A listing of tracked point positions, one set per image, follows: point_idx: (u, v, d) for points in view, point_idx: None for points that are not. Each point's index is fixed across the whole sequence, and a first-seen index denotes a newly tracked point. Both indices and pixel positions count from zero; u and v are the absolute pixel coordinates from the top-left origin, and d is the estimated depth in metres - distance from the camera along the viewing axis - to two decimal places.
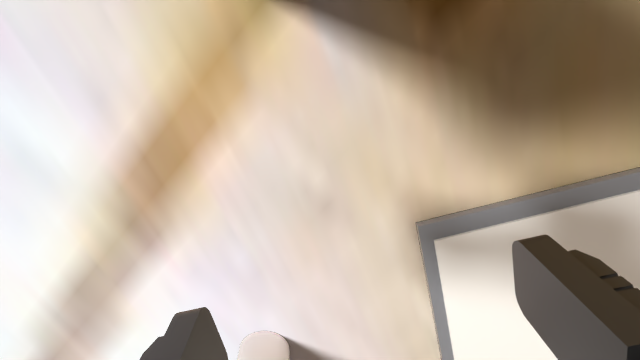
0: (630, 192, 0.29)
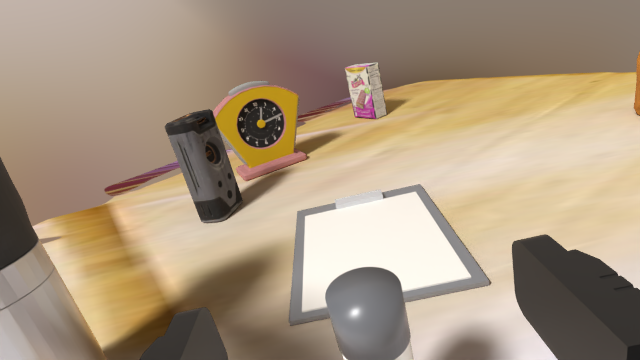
0: (304, 244, 0.57)
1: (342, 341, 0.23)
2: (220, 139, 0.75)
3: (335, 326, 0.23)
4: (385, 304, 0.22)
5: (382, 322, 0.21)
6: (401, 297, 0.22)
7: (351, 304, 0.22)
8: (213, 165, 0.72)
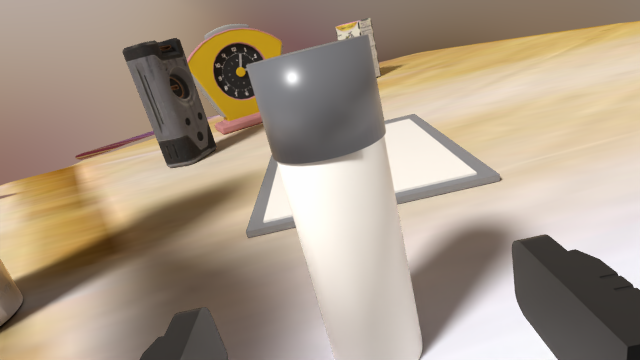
0: (277, 169, 0.48)
1: (272, 127, 0.14)
2: (189, 73, 0.66)
3: (260, 102, 0.14)
4: (337, 43, 0.13)
5: (333, 70, 0.13)
6: (367, 46, 0.13)
7: (283, 56, 0.13)
8: (179, 99, 0.63)
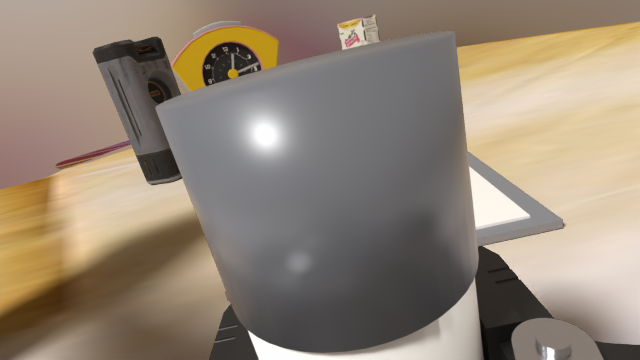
0: None
1: (220, 256, 0.06)
2: (172, 76, 0.58)
3: (190, 196, 0.06)
4: (388, 55, 0.05)
5: (376, 133, 0.04)
6: (456, 61, 0.05)
7: (242, 87, 0.05)
8: None
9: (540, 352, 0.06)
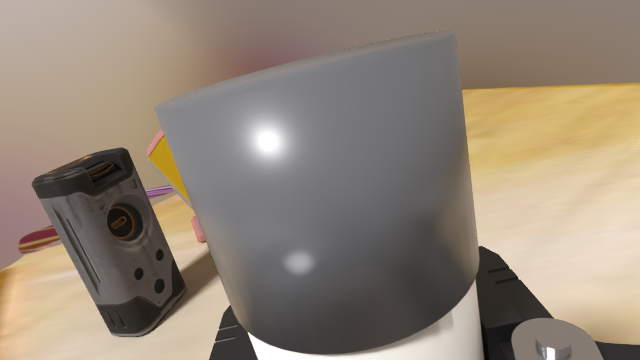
0: None
1: (219, 257, 0.06)
2: (142, 196, 0.45)
3: (190, 197, 0.06)
4: (389, 55, 0.05)
5: (376, 135, 0.04)
6: (457, 61, 0.05)
7: (242, 88, 0.05)
8: (125, 244, 0.42)
9: (540, 352, 0.06)
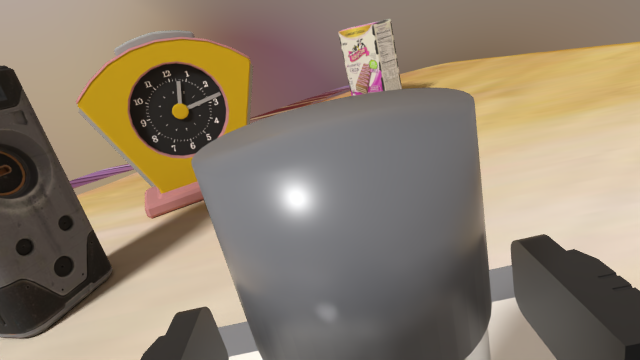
0: None
1: (249, 303, 0.06)
2: (37, 138, 0.32)
3: (222, 246, 0.06)
4: (415, 129, 0.05)
5: (404, 204, 0.05)
6: (475, 127, 0.06)
7: (276, 150, 0.06)
8: (0, 202, 0.29)
9: None
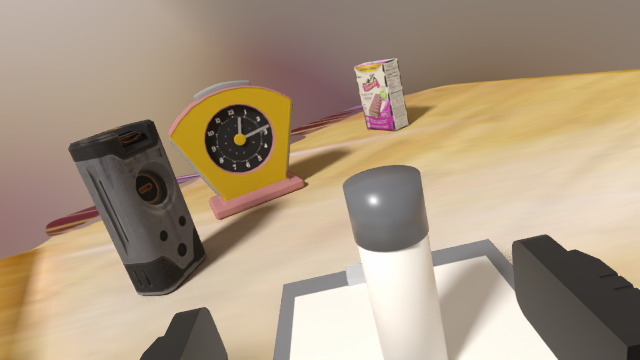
0: None
1: (360, 228, 0.22)
2: (166, 165, 0.49)
3: (353, 213, 0.22)
4: (404, 183, 0.21)
5: (401, 200, 0.21)
6: (420, 181, 0.22)
7: (369, 187, 0.22)
8: (151, 207, 0.45)
9: None
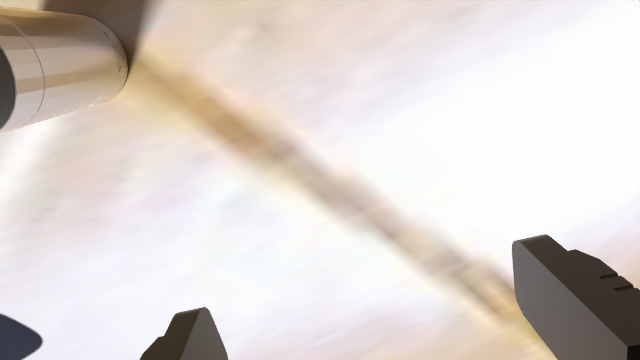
0: None
1: None
2: None
3: None
4: None
5: None
6: None
7: None
8: None
9: None
